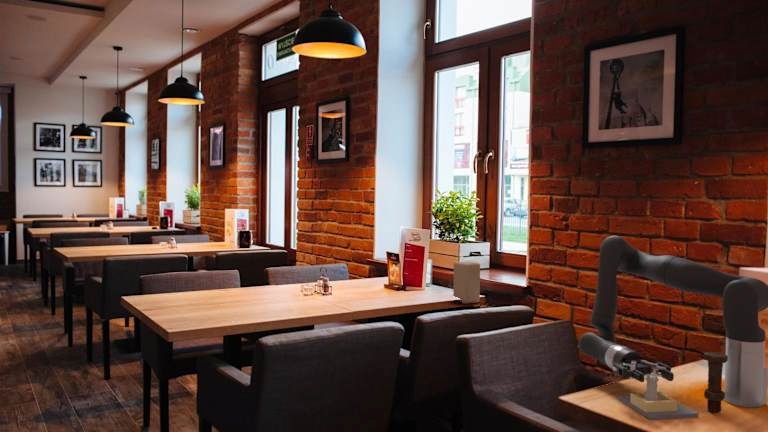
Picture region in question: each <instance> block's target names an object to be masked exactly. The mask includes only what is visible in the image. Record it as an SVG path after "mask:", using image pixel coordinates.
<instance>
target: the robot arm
mask: <svg viewBox="0 0 768 432" xmlns="http://www.w3.org/2000/svg"><path fill="white" fill-rule="evenodd" d="M599 249H600V250H599V253H598V256H599V257H598V268H597V270H598V271H597V283H596V284H597V285H596V291H595V298H594V302H593V307H592V311H591V315H590V322H589V323H590V325H591V326H592V327H593V328H594V329H596V330H597V331H598V333H599V334H596V333H595V332H591V331H590V332H585V333H583V334H582V335H581V336H580V337H579V338H578V339H579V340H578V349H579V350H580V352H581V353H582V354H583V355H585V356H587V357H588V358H589V357H590V358H591V359H594V360H597V361H598V362H601V363H602V364H603V365H605V366H607V367H608V368H610V369H611V370H612V373H613V374H615V375H617V376H618V377H619V378H620V377H621V378H622V379H631V380H634V379H635V380H636V381H638V382H639V383H644V382H645V377H647V374H649V376H650V374H652V376H654V374H655V375H657V377H659V378H663V379H664V380H666V381H668V382H673V381H674V376H675V375H674V373H673V372H672V367H671V365H670V366H669V365H668V364H665V363H663V362H662V361H656V362H655V363H654V362H650V361H648V360H645V358H644V356H643V355H642V354H641V353H639V352H638V351H635V350H634V349H631V348H629V347H627V346H625V345H621V344H619V343H616V337H615V322H616V316H617V312H618V307H619V306H618V305H619V304H618V303H619V298H618V297H619V295H618V286H617V285H618V284H617V283H618V282H617V279H618V278H617V277H618V271H619V272H623V273H628V274H633V275H635V276H641V277H645V278H646V279H649V280H651V281H653V282H656V283H659V284H661V285H664V286H667V287H668V288H669V287H670V288H672V289H675V290H679V291H681V292H684V293H685V292H686V293H690V294H697V295H703V296H713V297H718V298H721V299H722V325H723V326H724V330H725V354H726V355H727V356H728V361H727V362H726V363H724V391H723V392H724V393H725V398H724V400H723V401H725V402H727V403H729V404H732V405H733V406H734V405H735V406H739V407H745V408H759V407H763V406H766V405H768V404H767V403H768V368H766V367H765V366H766V363H765V362H766V361H765V359H766V357H765V356H766V330H765V329H764V328H762V327H761V326H760V324H759V313H760V312H763V311H765V310H766V309H768V284H767V283H766V282H765V281H763V280H762V279H759V278H757V277H756V278H753V277H751V276H749V277H748V276H743V275H739V274H733V273H728V272H724V271H721V270H719V269H717V268H713V267H711V266H707V265H705V264H702V263H699V262H696V261H692V260H689V259H686V258H682V257H680V256H675V255H671V254H670V255H668V254H667V255H666V254H665V255H652V254H649V253H647V252H644V251H642V250H639V249H637V248H635V247H634V246H632V245H631V243H629V242H628V241H627V240H626V239H624V238H623V237H622V236H620V235H611V236H608V237H606V238H605V239H604V240H603V241H602V242H601V244H600V247H599Z"/></svg>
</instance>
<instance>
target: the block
mask: <svg viewBox="0 0 768 432" xmlns="http://www.w3.org/2000/svg"><path fill="white" fill-rule="evenodd" d="M452 288H453V291H452V292H453V293H452V294H453V295H452V296H455V297H458V298H460V299H462V303H461V304H475V303H479V302H480V300H481V299H480V298H481V297H480V296H481V295H480V293H481V264H480V263H479V262H474V261H469V260H468V261H467V260H466V261H454V263H453V287H452Z"/></svg>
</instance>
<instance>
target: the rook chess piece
mask: <svg viewBox="0 0 768 432" xmlns="http://www.w3.org/2000/svg"><path fill="white" fill-rule="evenodd" d="M652 374H653V373H651V374H650V376H649V374H647V376H645V377H644V380H646V383H645V384H646V391H645V394H643V395H644V396H645V397H644V398H643V399H645V400H647V401H660V399H659V397H658V395H657V392H658V382H659V378H658V376H657V375H655V374H654V376H652Z"/></svg>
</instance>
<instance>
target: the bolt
mask: <svg viewBox="0 0 768 432" xmlns="http://www.w3.org/2000/svg"><path fill="white" fill-rule="evenodd" d="M703 360H705V361H707V367H708V368H707V369H708V370H707V379H708V380H707V388H705V389H704V392H703V397H704V398H705V399H707V403H706V405H707V407H706V409H707V412H708V413H711V414H719V413H721V411H722V401H725V400H724V398H725V393H724V391H723V390H722V388H723V387H722V386H723V385H722V384H723V383H722V381H723V367H724V364H725V363H726V362H727V361H728V356H727V355H726V353H723V352H717V351H706V352H704V353H703Z"/></svg>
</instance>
